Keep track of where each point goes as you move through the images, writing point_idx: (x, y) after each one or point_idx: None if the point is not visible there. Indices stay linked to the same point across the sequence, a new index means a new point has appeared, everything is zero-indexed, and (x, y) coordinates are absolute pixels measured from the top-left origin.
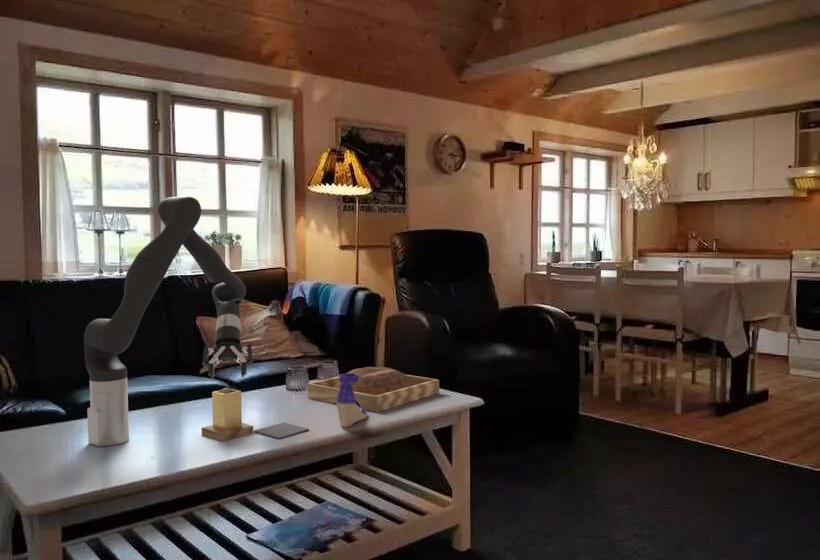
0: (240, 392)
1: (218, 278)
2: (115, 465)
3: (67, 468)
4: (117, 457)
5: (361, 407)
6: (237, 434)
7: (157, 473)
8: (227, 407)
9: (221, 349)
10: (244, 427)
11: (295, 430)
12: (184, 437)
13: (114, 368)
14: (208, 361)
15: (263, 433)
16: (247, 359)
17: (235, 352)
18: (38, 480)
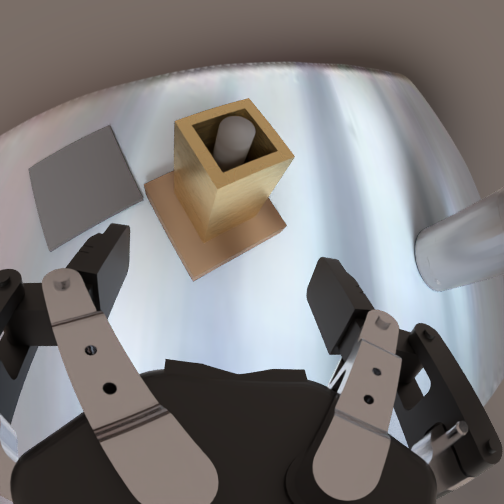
0: (177, 124)
1: None
2: (389, 128)
3: (433, 152)
4: (400, 160)
5: None
6: None
7: (328, 74)
8: None
9: (363, 431)
10: (169, 179)
11: (56, 163)
12: (319, 227)
13: None
14: (400, 344)
15: (126, 165)
16: (26, 304)
17: (120, 372)
18: (437, 131)
